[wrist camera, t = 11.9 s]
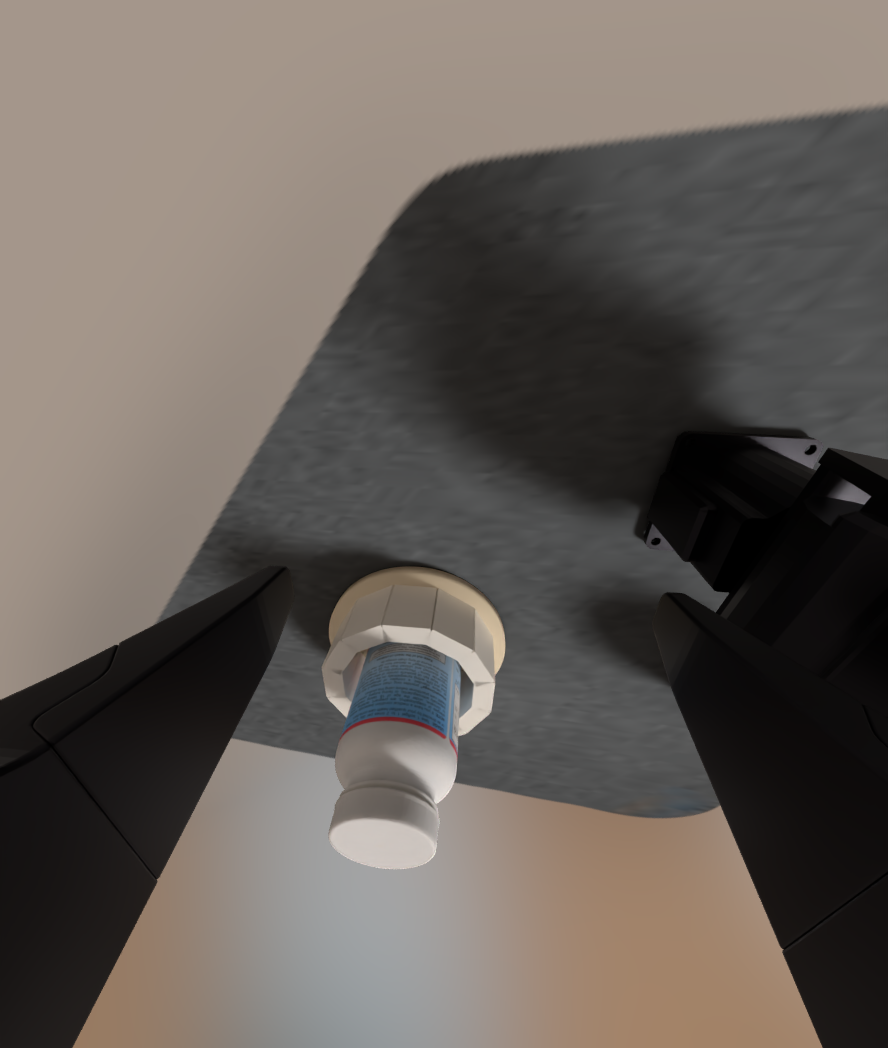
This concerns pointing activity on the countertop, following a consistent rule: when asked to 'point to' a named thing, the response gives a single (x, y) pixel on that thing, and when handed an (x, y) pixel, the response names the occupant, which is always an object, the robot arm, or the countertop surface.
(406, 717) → the pill bottle
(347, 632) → the socket dock
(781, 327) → the countertop surface
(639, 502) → the countertop surface
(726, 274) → the countertop surface
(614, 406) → the countertop surface
